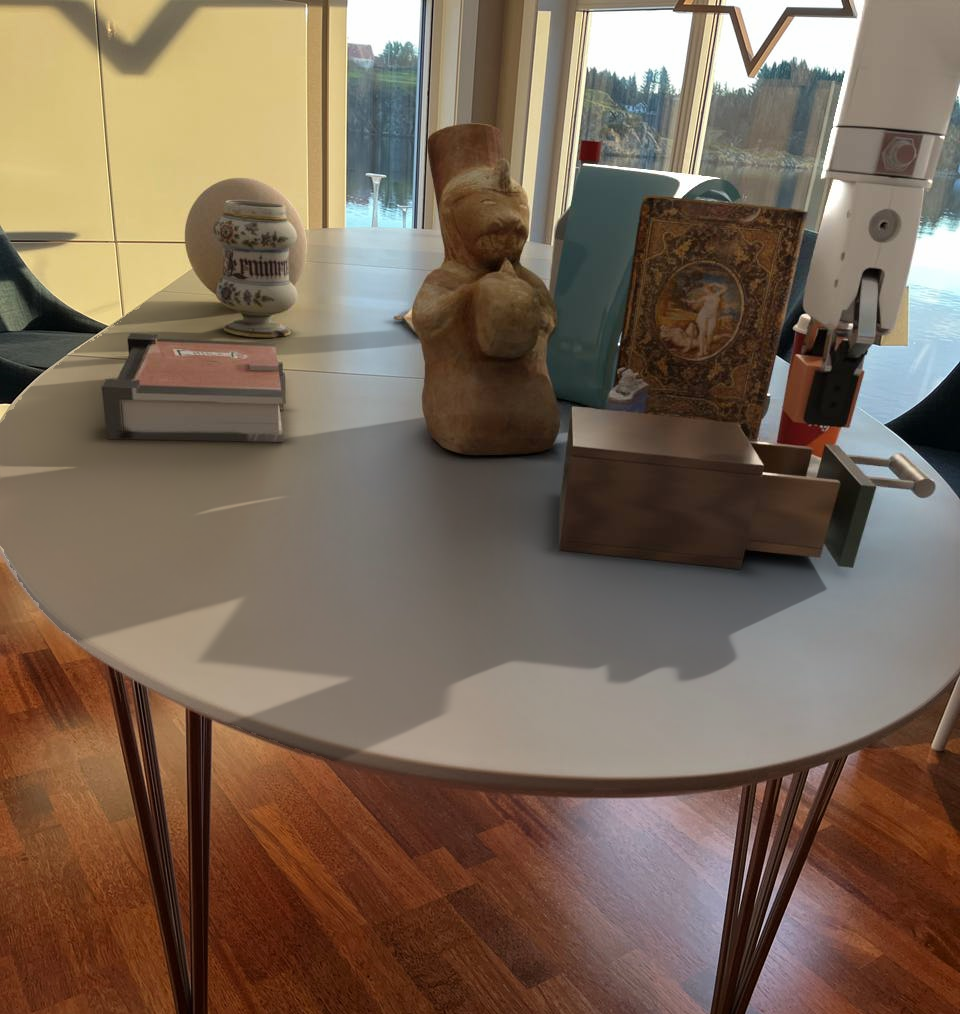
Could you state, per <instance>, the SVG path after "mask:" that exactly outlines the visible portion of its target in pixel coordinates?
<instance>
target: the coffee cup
mask: <svg viewBox="0 0 960 1014" xmlns="http://www.w3.org/2000/svg"><path fill="white" fill-rule="evenodd" d="M810 320H811V319H810V316H809V315H808V314H807V313H803V314H801V315H800V316H799V319H798V321H797V323H796V324H795V325H793V327H792V330H793V331H795V333H794V338H793V345H792V350H791V356H790V362H789V368H788V372H787V379H786V384H785V389H784V396H783V399H784V398H785V393H786V389H787V385H788V381H789V376H790V372H791V368H792V364H793V359H794V355H795V354H798V355H802V346H803V343H804V339H805V336H806V333H807V327H808V326H809V324H808V323H810ZM852 328H853V324H851V323H849V326H848V329H849V330H852ZM844 340H848V339H844ZM783 402H784V400H783ZM783 402H782V403H783ZM841 430H842V427H831V426H822V425H812V424H807V423H797V422H793V421H792V420H791V418H790V417H789V416H788V415H787V414H786V412H785V411H784V410H783V409H782V408H781V414H780V420H779V427H778V432H777V437H776V443H777V444H787V445H796V446H806V447H811V448H812V449H813V451H812V455H814V456H817V457H819V458H822V454H823V450H824V446H825V444H829V445H837V443H838V439H839V436H840V433H841Z"/></svg>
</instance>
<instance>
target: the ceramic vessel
mask: <svg viewBox="0 0 960 1014" xmlns="http://www.w3.org/2000/svg"><path fill="white" fill-rule="evenodd" d="M426 143H427V155H428V161H429V168H430V173H431V178H432V183H433V184H432V185H433V189H434V195H435V201H436V202H435V203H436V208H437V215H438V222H439V228H440V233H441V234H440V235H441V239H442V243H443V248H444V258H443V262H442V263H441V265H440V266H439V267H437V268H435V269H433V270H432V271H430V272H429V273H428V274H427V275H426V277H425V278H424V280H423V282H422V284H421V286H420V288H419V290H418V291H417V293H416V295H415V298H414V301H413V304H412V306H411V308H412V324H413V327H414V329H415V331H416V333H417V334H416V333H415V334H416V335H417V337H418V339H419V341H420V346H421V351H422V356H423V362H424V377H423V379H424V380H423V388H422V391H421V407H422V413H423V418H424V421H425V424H426V429H427V431H428V434H429V436H430V437H431V439H433V440H434V441H435V442H436V443H437V444H439V445H440V447H441V448H444V449H446V450H449V451H451V452H454V453H456V454H457V453H458V454H462V455H466V456H468V455H469V456H506V455H507V456H508V455H527V454H537V453H543V452H545V451H547V450H551V449H552V448H553V445H554V444H555V442H556V440H557V438H558V435H559V431H560V427H561V418H560V417H561V415H560V408H559V405H558V400H557V398H556V396H555V393H554V390H553V387H552V384H551V381H550V378H549V374H548V370H547V366H546V352H547V344H548V341H549V339H550V337H551V336H552V335H553V333H554V332H555V330H556V328H557V323H558V316H557V310H556V307H555V304H554V302H553V299H552V297H551V295H550V293H549V291H548V286H547V285H546V284H545V282H544V280H542V279H541V278H540V276H539V275H537V274H536V273H535V272H533V271H531V270H530V269H529V268H527V267H525V266H523V265H522V263H521V262H520V261H521V257H522V253H523V250H524V247H525V245H526V243H527V241H528V239H529V235H530V216H531V215H530V214H531V211H530V206H529V202H528V201H529V200H528V195H527V192H526V191H525V189H524V188H523V187H522V186H521V185H520V183H519V182H517V181H516V180H515V179H514V178H513V177H512V174H511V168H510V163H509V161H508V160H507V159H506V158H505V151H504V141H503V137H502V132H501V130H500V129H499V128H498V127H495V126H494V125H490V124H486V123H475V122H467V123H459V124H454V125H450V126H449V125H448V126H446V127H443V128H440V129H439V130H436V131H434V132H432V133H431V134H430V135H429V136H428V137H427V141H426Z"/></svg>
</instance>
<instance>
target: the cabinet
mask: <svg viewBox="0 0 960 1014" xmlns="http://www.w3.org/2000/svg"><path fill="white" fill-rule="evenodd" d="M565 448H566V449H565V455H564V462H563V471H562V472H563V473H562V479H561V486H560V495H559V525H558V527H559V532H558V551H564V552H565V551H566V552H573V553H575V552H576V553H583V554H584V553H585V554H591V555H601V556H612V557H621V558H630V559H641V560H647V561H648V560H649V561H650V560H651V561H658V562H659V561H660V562H667V563H668V562H669V563H677V564H685V565H686V564H688V565H696V566H704V567H715V568H725V569H734V570H742V566H743V561H744V558H745V557H744V556H745V553H746V550H745V548H746V544H747V540H748V535H749V531H750V527H751V522H752V518H753V514H754V509H755V505H756V501H757V496H758V492H759V488H760V483H761V479H762V474H763V470H764V465H763V463H762V461H761V460H760V458H759V457H758V455H757V453H756V452H755V450H754V449H753V447H752V445H751V444H750V442H749V441H748V439H747V437H746V436H745V434H744V433H743V431H742V429H741V428H740V426H739V425H738V423H732V422H722V421H712V420H703V419H693V418H683V417H673V416H663V415H653V414H644V413H634V412H624V411H614V410H604V409H594V408H592V407H583V406H575V405H573V406H572V405H571V408H570V417H569V424H568V431H567V440H566V447H565Z"/></svg>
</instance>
